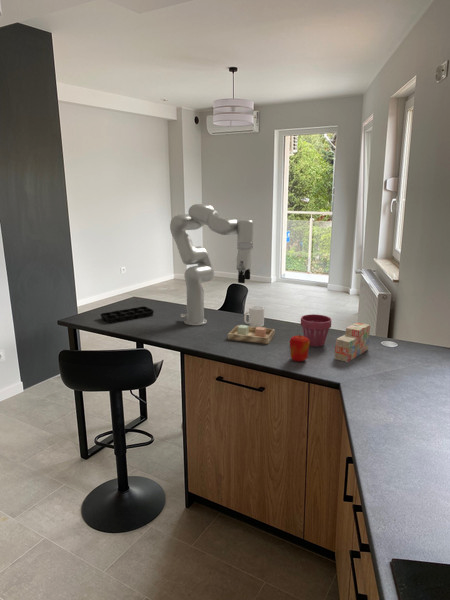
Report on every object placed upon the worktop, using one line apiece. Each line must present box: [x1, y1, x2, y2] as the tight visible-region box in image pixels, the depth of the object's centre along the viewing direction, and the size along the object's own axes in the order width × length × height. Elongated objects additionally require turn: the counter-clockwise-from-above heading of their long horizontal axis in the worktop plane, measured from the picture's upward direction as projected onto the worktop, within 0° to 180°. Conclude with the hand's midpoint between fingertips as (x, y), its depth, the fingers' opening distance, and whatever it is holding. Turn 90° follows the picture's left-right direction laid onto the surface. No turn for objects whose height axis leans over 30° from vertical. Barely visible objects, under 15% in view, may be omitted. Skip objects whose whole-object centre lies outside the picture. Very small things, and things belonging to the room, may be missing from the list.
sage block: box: [237, 324, 250, 335], centre depth 214 cm, size 4×4×4 cm
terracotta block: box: [255, 326, 267, 337], centre depth 211 cm, size 4×4×4 cm
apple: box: [289, 333, 310, 362], centre depth 182 cm, size 9×8×12 cm
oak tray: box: [227, 325, 276, 345], centre depth 213 cm, size 20×15×3 cm
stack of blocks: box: [334, 322, 371, 363], centre depth 190 cm, size 21×6×12 cm, turn 139°
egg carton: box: [100, 305, 155, 324], centre depth 245 cm, size 18×30×4 cm, turn 141°
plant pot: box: [300, 313, 332, 348], centre depth 203 cm, size 14×14×13 cm
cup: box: [243, 305, 265, 327], centre depth 231 cm, size 8×12×10 cm
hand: (244, 281), depth 208 cm, fingers open, 9 cm apart
